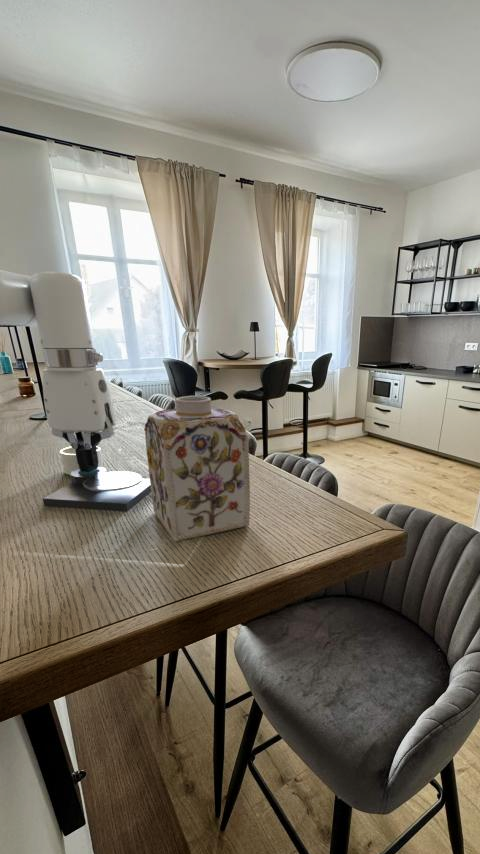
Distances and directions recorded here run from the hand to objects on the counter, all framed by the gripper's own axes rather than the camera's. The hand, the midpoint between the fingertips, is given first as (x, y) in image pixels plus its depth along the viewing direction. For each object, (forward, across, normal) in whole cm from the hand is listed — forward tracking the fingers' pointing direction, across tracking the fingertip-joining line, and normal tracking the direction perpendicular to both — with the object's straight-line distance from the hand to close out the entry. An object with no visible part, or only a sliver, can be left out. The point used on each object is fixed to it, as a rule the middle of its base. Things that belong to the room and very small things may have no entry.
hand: (89, 469), depth 73 cm
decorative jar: (+4, -23, +10) cm, 26 cm away
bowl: (+3, +7, -8) cm, 11 cm away
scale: (+4, -4, +4) cm, 7 cm away
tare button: (+2, 0, 0) cm, 2 cm away
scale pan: (0, -7, +4) cm, 8 cm away
